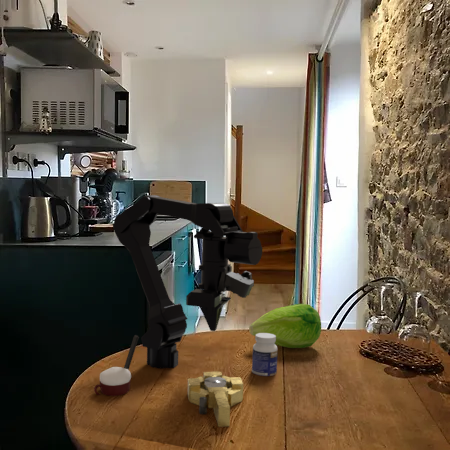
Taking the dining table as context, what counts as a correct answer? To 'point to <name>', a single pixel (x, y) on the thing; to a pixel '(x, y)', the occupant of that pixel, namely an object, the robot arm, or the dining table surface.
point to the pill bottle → (264, 355)
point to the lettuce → (290, 325)
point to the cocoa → (117, 376)
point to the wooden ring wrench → (217, 395)
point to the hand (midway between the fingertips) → (213, 330)
